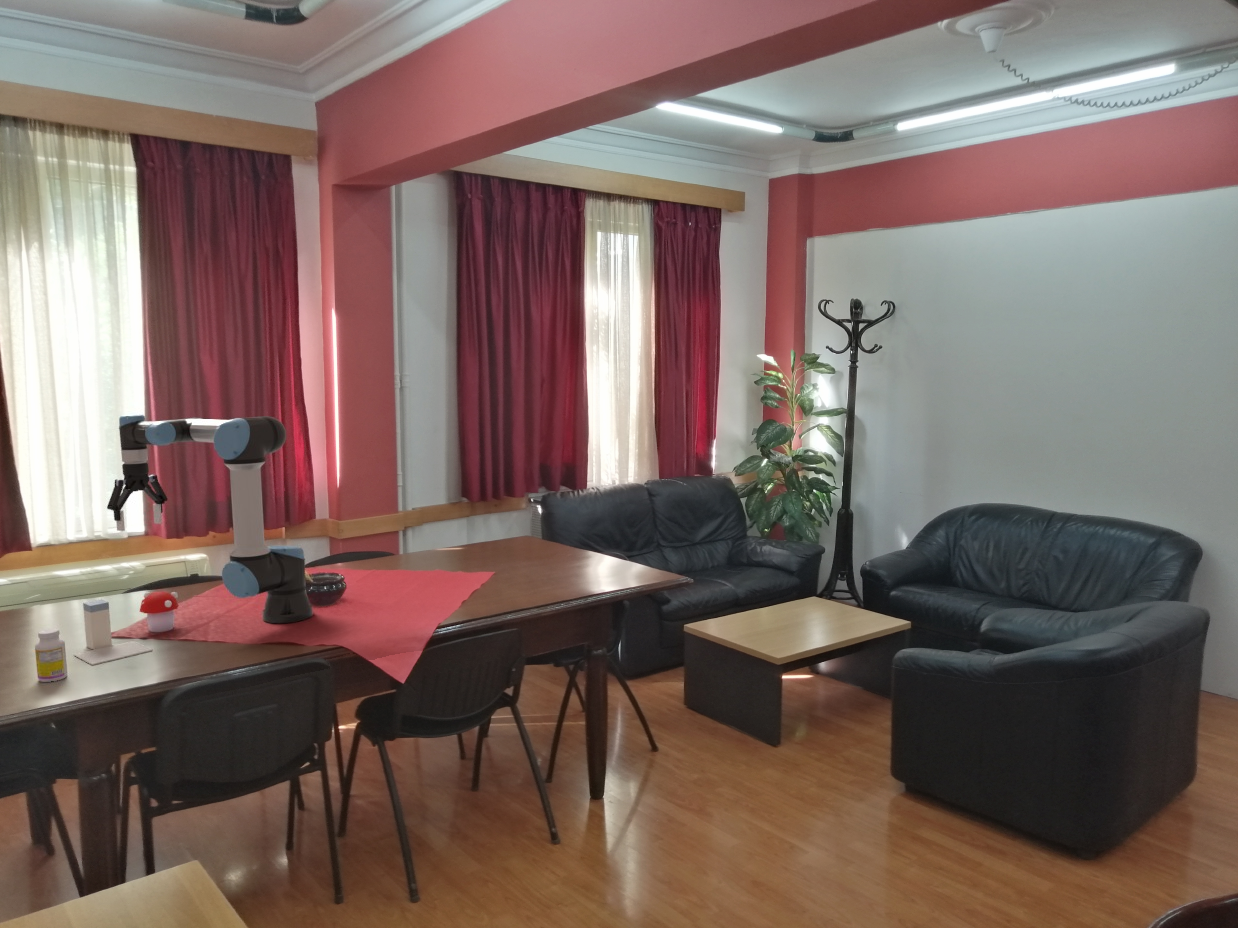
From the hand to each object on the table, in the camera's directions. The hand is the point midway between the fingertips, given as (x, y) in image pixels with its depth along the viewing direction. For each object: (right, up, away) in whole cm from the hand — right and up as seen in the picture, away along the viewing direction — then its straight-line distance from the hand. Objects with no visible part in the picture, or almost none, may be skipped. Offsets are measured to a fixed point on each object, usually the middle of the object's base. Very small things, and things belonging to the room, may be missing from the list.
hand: (139, 527), depth 303 cm
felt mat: (+13, -33, -40) cm, 54 cm away
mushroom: (+16, -30, -18) cm, 39 cm away
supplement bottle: (+9, -36, -60) cm, 71 cm away
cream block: (+6, -32, -34) cm, 47 cm away
